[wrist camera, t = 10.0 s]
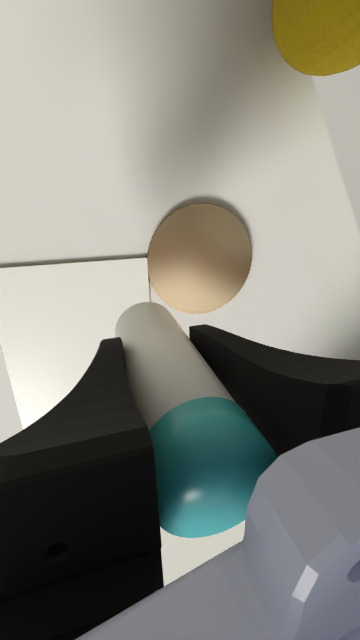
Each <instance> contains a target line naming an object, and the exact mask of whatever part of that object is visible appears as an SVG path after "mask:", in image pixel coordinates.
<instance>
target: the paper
mask: <svg viewBox="0 0 360 640" xmlns="http://www.w3.org/2000/svg"><path fill="white" fill-rule="evenodd" d="M142 302H150V299H149V281H148V263H147V257H143V258H129V259H115V260H101V261H87V262H72V263H58V264H44V265H30V266H16V267H2V268H0V344H1V348H2V351H3V355H4V359H5V363H6V366H7V370H8V374H9V378H10V381H11V385H12V389H13V393H14V396H15V400H16V404H17V408H18V412H19V415H20V419H21V423H22V427H23V430H24V429H25V428H27V427H28V426H30V425H31V424H32V423H34V422H35V421H37V420H38V419H40V418H41V417H42V416H44V415H45V414H46V413H47V412H49V411H50V410H51V409H52V408H53V407H54V406H56V405H57V404H58V403H59V402H60V401H61V400H62V399H63V398H65V397H66V396H67V395H68V394H69V393H70V391H71V390H72V389H73V388H74V387H75V386H76V384H77V383H78V382H79V380H80V379H81V378H82V376H83V375H84V373H85V372H86V370H87V369H88V367H89V366H90V364H91V362H92V360H93V358H94V357H95V355H96V352H97V350H98V348H99V345H100V342H101V341H102V340H103V339H109V338H116V337H115V327H116V323H117V321H118V319H119V317H120V316H121V314H122V313H123V312H124V311H125V310H126V309H128V308H129V307H131V306H133V305H135V304H138V303H142Z"/></svg>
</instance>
